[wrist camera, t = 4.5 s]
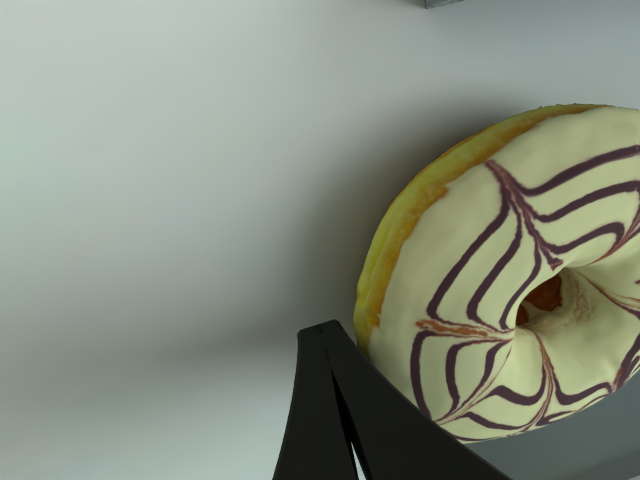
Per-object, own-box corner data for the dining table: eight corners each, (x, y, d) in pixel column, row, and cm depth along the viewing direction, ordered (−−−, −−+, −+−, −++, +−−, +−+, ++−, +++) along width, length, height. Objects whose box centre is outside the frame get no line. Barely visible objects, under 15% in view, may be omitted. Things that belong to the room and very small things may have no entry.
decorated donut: (545, 365, 15) (631, 446, 12) (319, 380, 12) (346, 491, 9) (679, 129, 11) (877, 149, 7) (378, 74, 8) (473, 68, 5)
